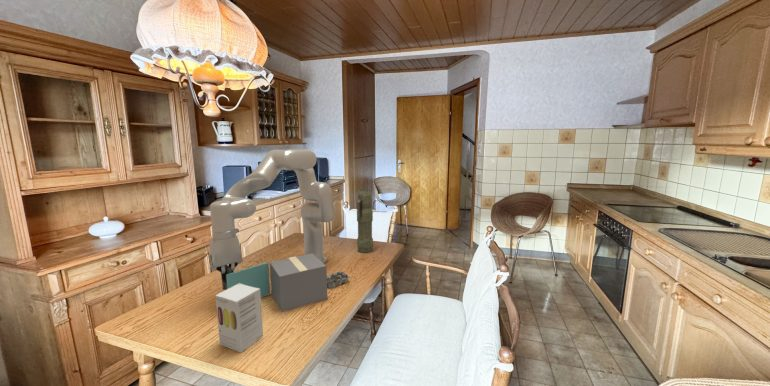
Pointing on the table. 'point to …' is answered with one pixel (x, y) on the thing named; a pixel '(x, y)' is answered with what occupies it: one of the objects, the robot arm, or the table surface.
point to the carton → (298, 281)
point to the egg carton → (337, 279)
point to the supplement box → (239, 317)
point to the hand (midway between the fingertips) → (228, 280)
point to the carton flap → (249, 278)
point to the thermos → (364, 221)
